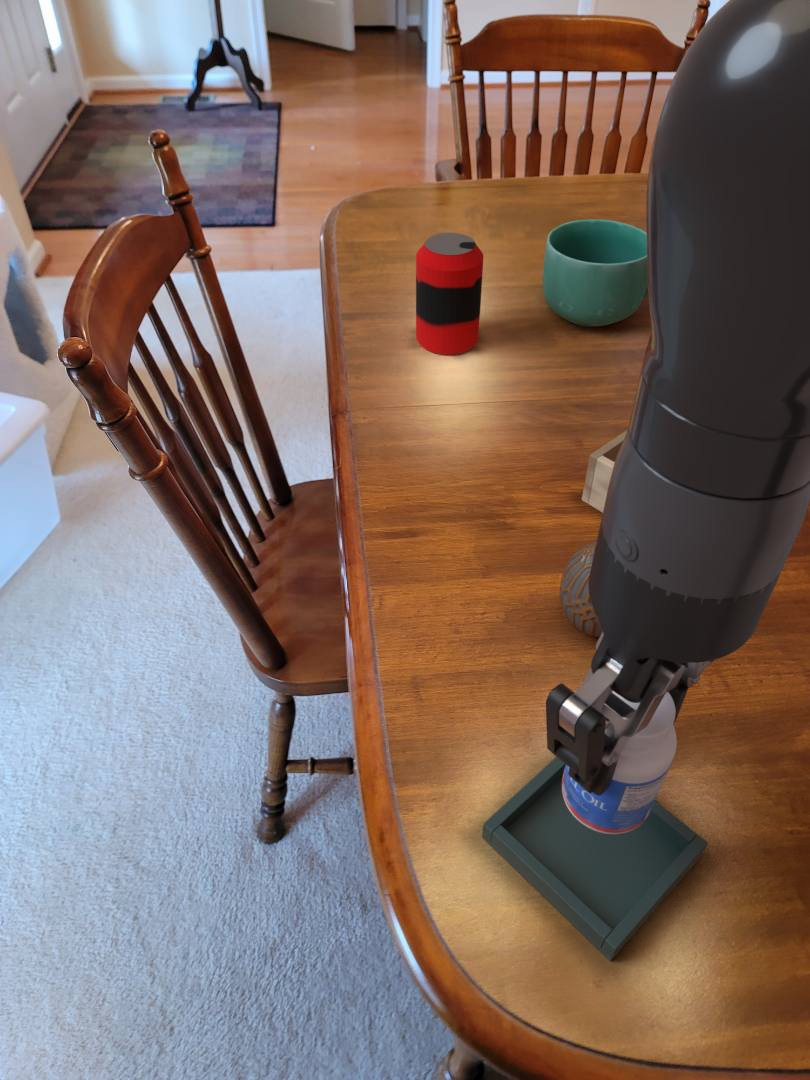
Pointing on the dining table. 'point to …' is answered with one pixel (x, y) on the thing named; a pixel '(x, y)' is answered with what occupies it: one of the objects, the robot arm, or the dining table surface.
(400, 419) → the dining table surface
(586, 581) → the vase
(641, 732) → the pill bottle
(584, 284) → the mug
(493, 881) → the dining table surface
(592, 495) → the crate
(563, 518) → the dining table surface
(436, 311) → the soda can
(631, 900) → the tray
